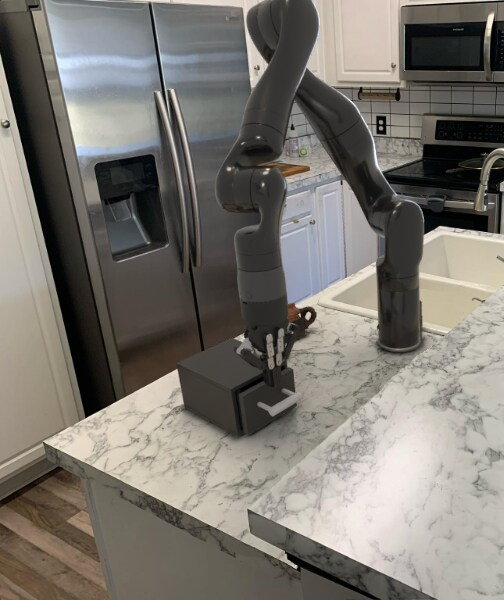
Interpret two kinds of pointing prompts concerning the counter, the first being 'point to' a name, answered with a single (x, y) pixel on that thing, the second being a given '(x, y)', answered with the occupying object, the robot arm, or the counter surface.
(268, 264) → the robot arm
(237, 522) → the counter surface
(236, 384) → the small drawer cabinet
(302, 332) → the pottery mug
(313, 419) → the counter surface
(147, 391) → the counter surface
